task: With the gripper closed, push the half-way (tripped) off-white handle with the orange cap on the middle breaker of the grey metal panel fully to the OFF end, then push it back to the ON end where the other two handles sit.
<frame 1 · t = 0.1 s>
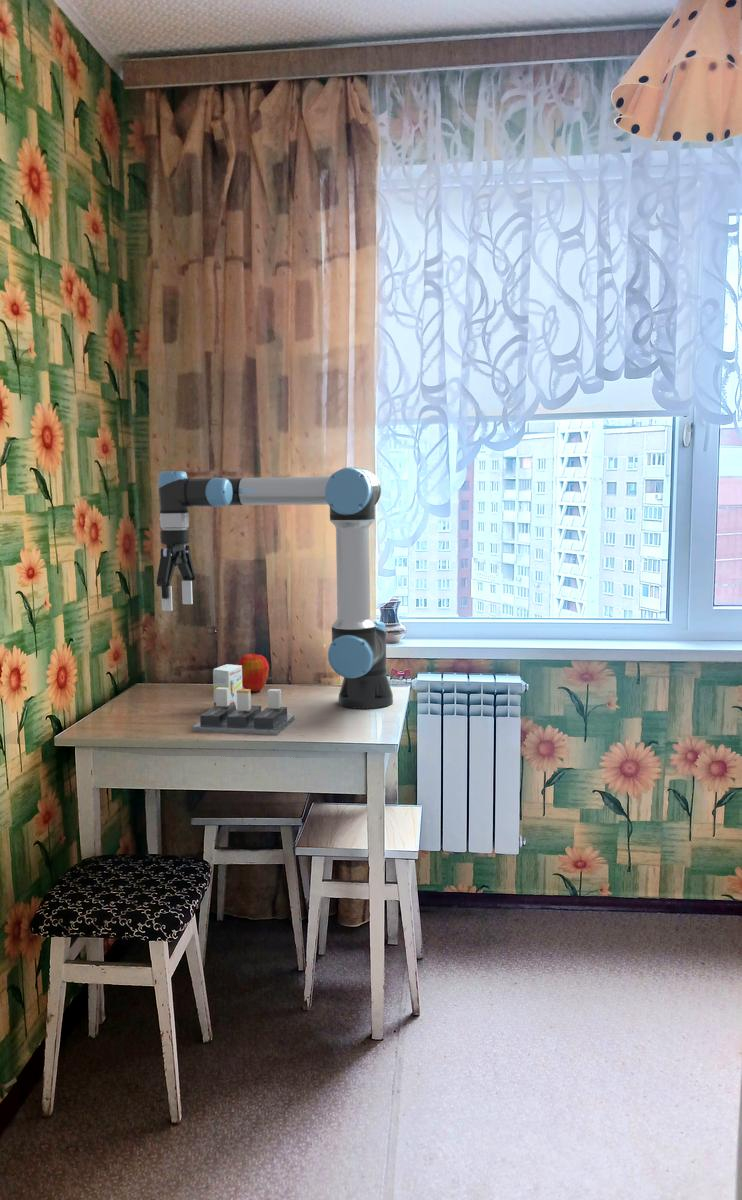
hand: (177, 607, 248), 28 cm above the table, fingers open, 13 cm apart
panel: (244, 725, 232), on the table
apple: (253, 691, 271), on the table
ink box: (228, 710, 249), on the table
handle 1: (222, 696, 237), point 6 cm above the table, slide at 3.5 cm
handle mid: (243, 699, 232), point 7 cm above the table, slide at 0.0 cm
handle 2: (274, 698, 234), point 6 cm above the table, slide at 3.5 cm
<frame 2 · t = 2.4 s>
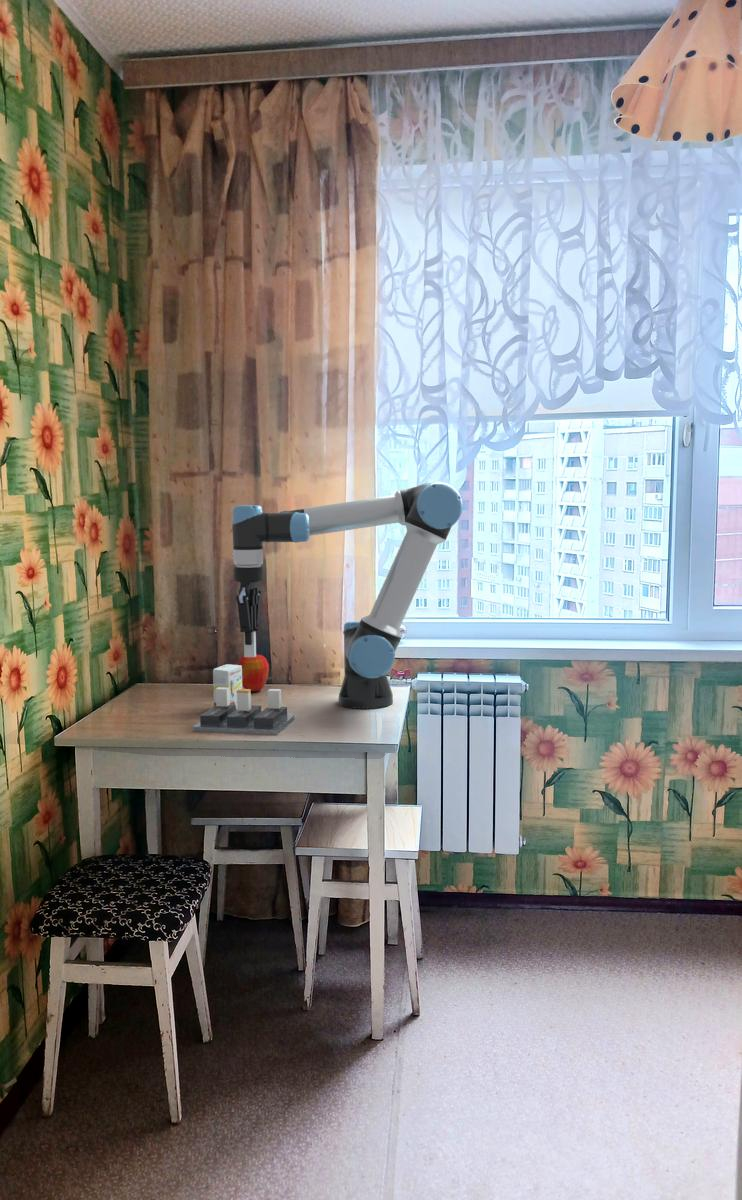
hand: (250, 656, 237), 17 cm above the table, fingers closed
nothing on the table moved.
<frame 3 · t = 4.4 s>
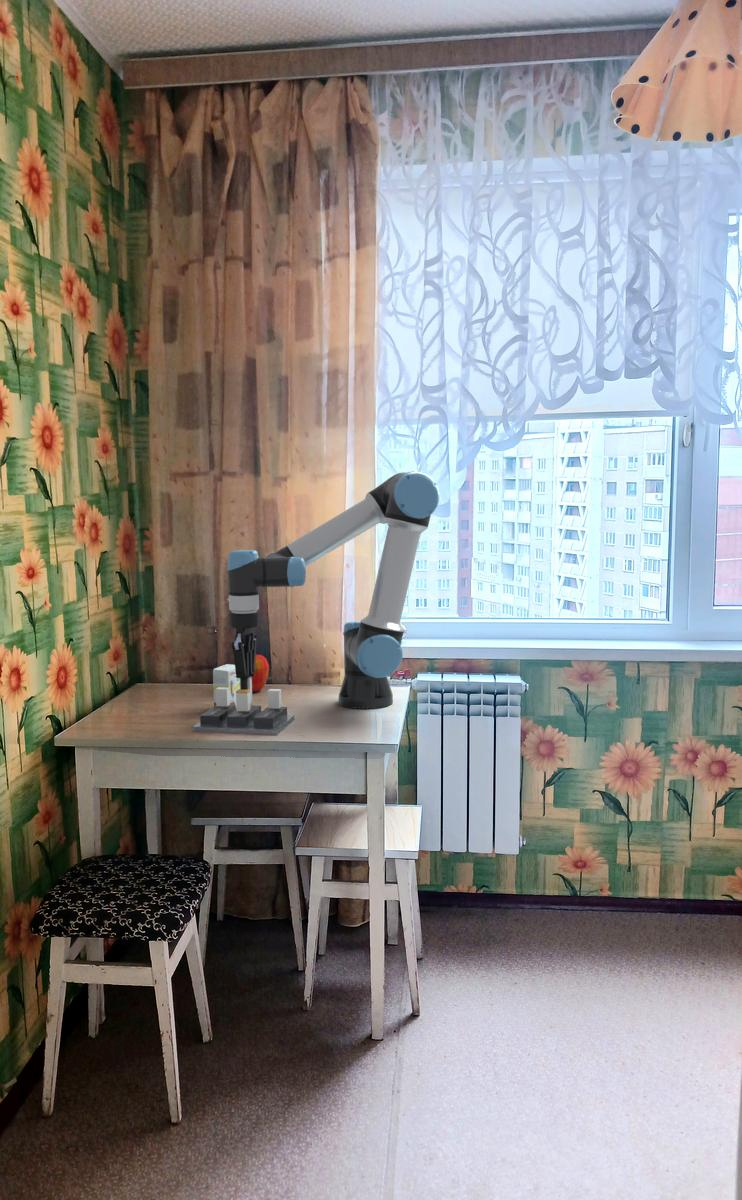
hand: (246, 702, 234), 5 cm above the table, fingers closed
handle mid: (243, 700, 231), point 7 cm above the table, slide at -0.5 cm, touching gripper
everything else where it was.
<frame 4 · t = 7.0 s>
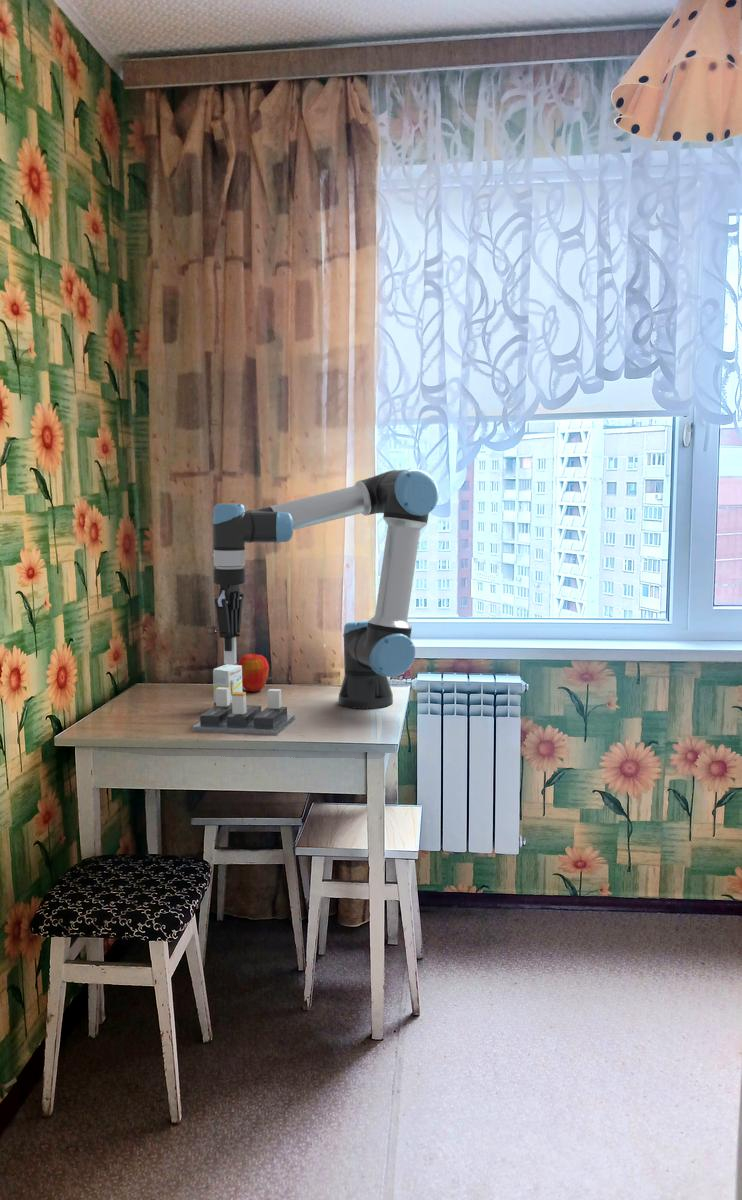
hand: (230, 663, 224), 17 cm above the table, fingers closed
handle mid: (239, 702, 228), point 7 cm above the table, slide at -3.5 cm
everything else where it was.
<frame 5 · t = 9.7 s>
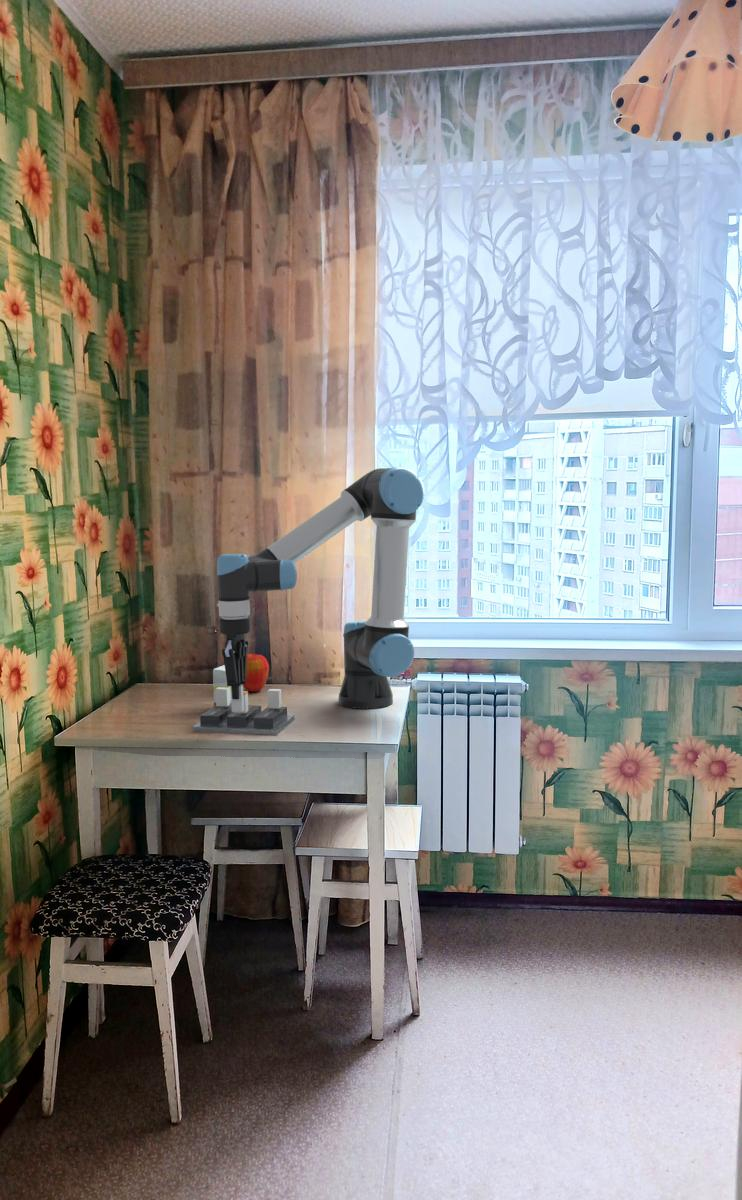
hand: (237, 710, 227), 5 cm above the table, fingers closed
handle mid: (241, 701, 230), point 7 cm above the table, slide at -2.2 cm, touching gripper
everything else where it was.
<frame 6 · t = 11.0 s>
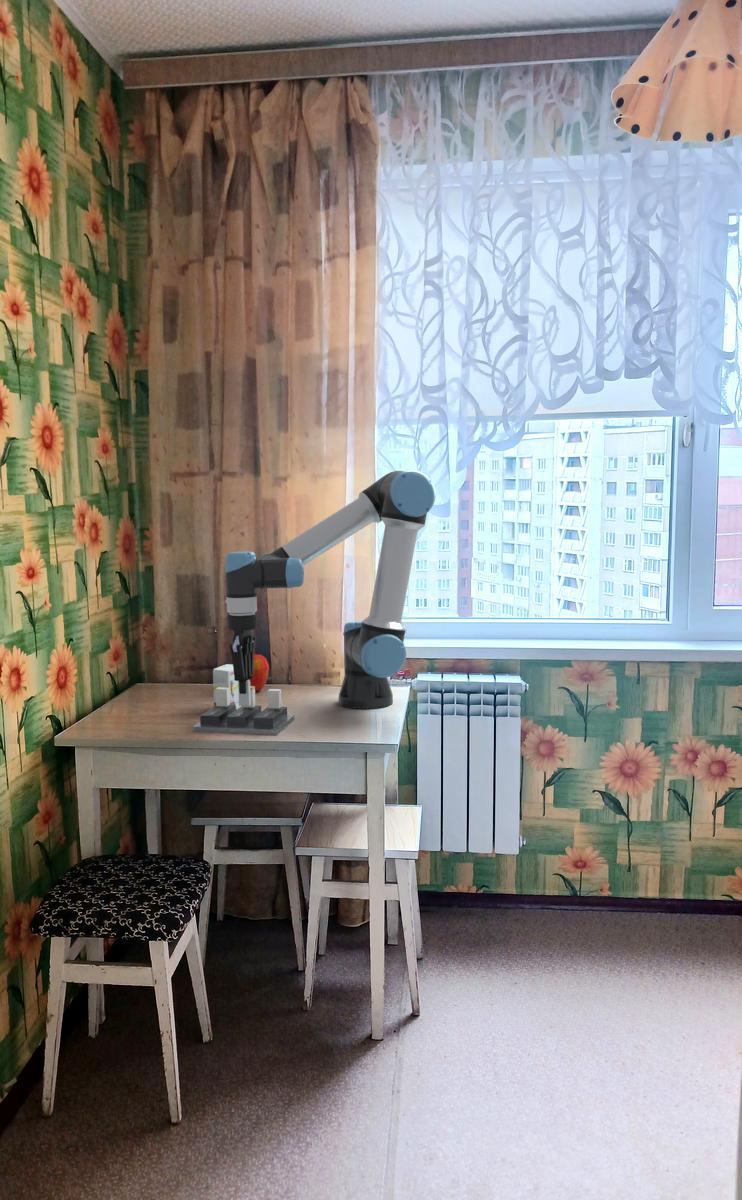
hand: (244, 705, 232), 5 cm above the table, fingers closed
handle mid: (248, 696, 235), point 7 cm above the table, slide at 3.4 cm, touching gripper
everything else where it was.
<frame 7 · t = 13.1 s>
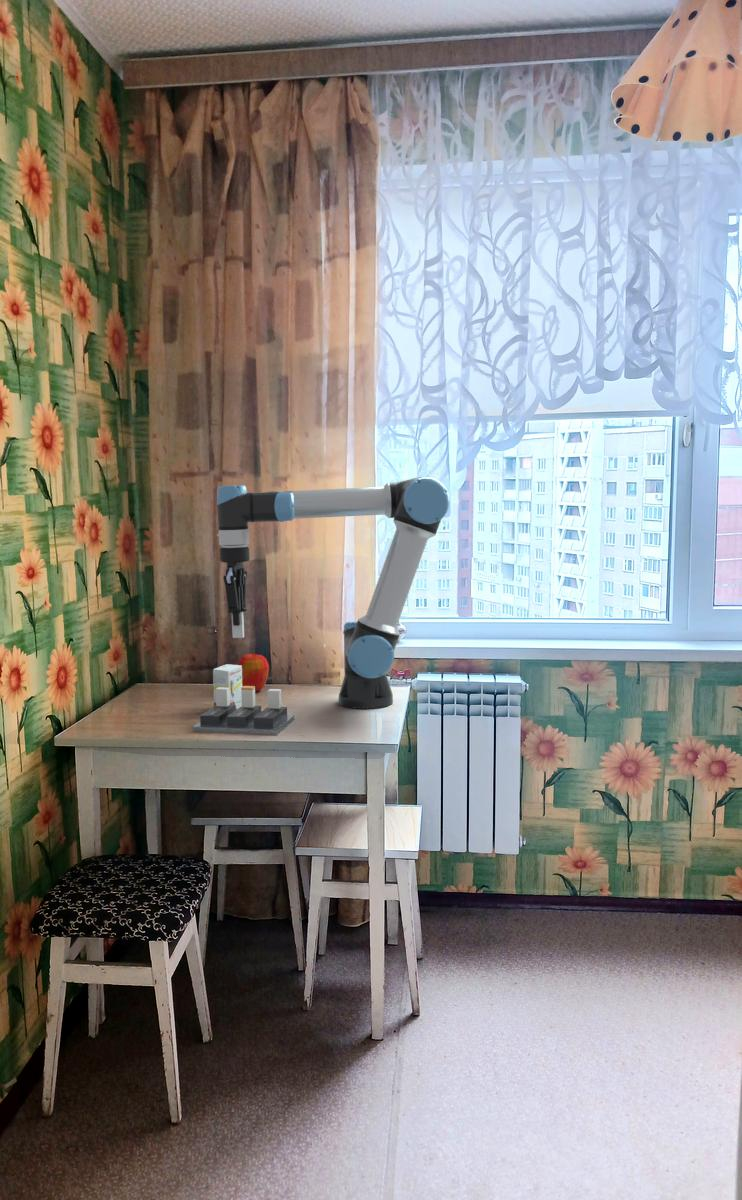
hand: (238, 637, 236), 22 cm above the table, fingers closed
handle mid: (248, 696, 235), point 7 cm above the table, slide at 3.5 cm
everything else where it was.
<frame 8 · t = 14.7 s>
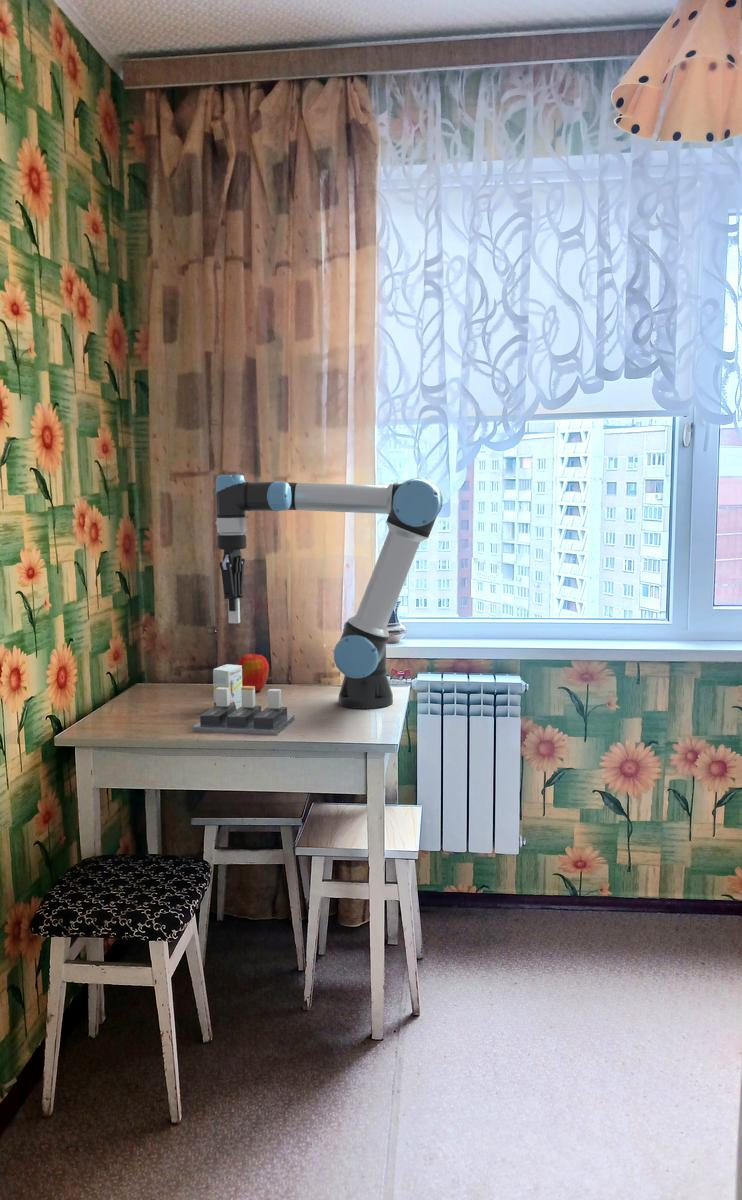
hand: (234, 622, 243), 24 cm above the table, fingers closed
nothing on the table moved.
at the end: handle mid slide at 3.5 cm; handle 2 slide at 3.5 cm; handle 1 slide at 3.5 cm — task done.
